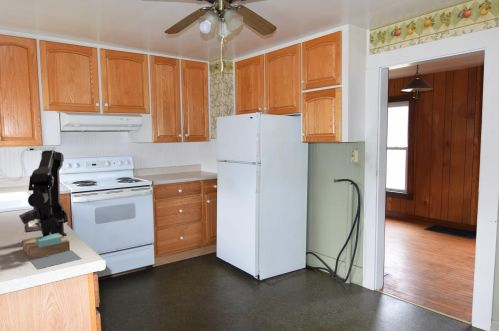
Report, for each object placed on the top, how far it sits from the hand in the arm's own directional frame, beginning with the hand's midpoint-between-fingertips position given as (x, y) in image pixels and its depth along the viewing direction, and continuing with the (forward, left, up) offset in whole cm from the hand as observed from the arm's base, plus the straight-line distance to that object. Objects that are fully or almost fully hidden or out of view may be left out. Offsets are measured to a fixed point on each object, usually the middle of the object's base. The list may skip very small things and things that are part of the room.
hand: (45, 239), depth 146 cm
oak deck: (-1, 0, -5) cm, 5 cm away
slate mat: (+14, 0, -5) cm, 15 cm away
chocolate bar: (-45, +5, -5) cm, 46 cm away
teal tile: (+4, 0, +1) cm, 4 cm away
